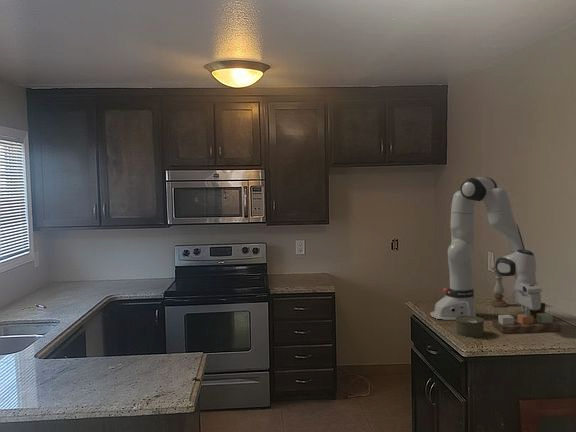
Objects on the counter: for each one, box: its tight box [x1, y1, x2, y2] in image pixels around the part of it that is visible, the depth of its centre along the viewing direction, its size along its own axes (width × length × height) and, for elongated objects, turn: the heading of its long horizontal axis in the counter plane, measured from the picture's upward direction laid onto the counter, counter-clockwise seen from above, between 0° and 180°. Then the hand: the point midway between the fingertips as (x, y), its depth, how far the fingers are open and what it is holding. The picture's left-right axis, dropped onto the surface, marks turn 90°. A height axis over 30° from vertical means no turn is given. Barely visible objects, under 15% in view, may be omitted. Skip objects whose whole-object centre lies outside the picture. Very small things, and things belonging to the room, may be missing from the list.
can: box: [455, 315, 485, 338], centre depth 241 cm, size 12×12×7 cm
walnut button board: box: [491, 318, 561, 335], centre depth 246 cm, size 26×12×3 cm, turn 92°
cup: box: [530, 302, 546, 318], centre depth 260 cm, size 8×7×8 cm
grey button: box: [497, 314, 515, 325], centre depth 246 cm, size 5×5×4 cm
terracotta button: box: [516, 313, 533, 324], centre depth 246 cm, size 5×5×4 cm
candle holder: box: [490, 267, 509, 308], centre depth 290 cm, size 9×9×20 cm
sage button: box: [537, 312, 554, 323], centre depth 246 cm, size 5×5×4 cm
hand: (526, 315), depth 246 cm, fingers closed
